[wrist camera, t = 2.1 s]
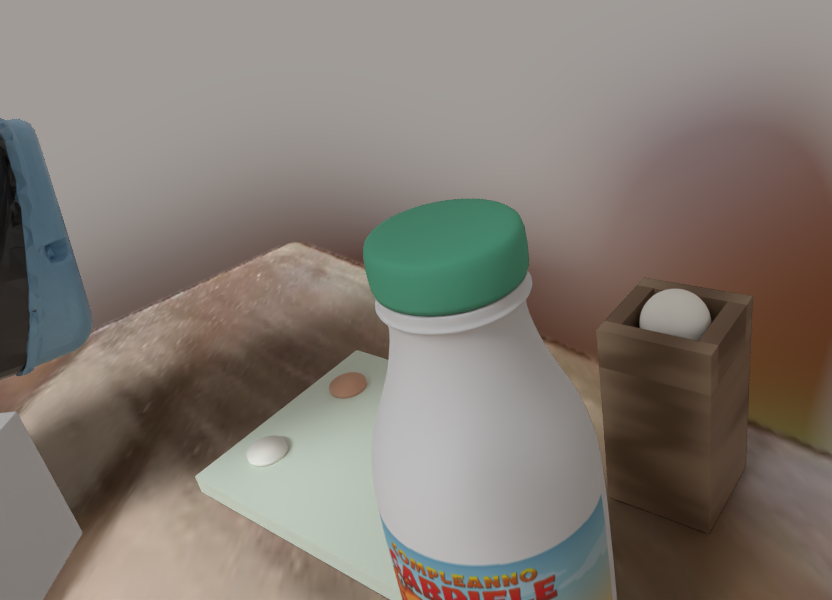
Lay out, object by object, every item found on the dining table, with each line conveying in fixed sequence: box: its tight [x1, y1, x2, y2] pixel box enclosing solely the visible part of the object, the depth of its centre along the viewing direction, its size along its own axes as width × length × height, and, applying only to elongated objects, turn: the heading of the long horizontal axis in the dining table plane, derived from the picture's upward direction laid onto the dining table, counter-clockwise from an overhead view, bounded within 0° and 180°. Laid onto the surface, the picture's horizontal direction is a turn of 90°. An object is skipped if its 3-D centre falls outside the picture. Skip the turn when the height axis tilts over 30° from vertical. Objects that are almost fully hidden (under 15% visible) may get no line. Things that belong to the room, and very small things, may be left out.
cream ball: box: [640, 289, 711, 341], centre depth 33 cm, size 3×3×3 cm
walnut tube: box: [596, 278, 753, 534], centre depth 35 cm, size 5×5×10 cm
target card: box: [195, 350, 402, 600], centre depth 43 cm, size 16×14×2 cm
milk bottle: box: [363, 199, 617, 600], centre depth 25 cm, size 8×8×20 cm
